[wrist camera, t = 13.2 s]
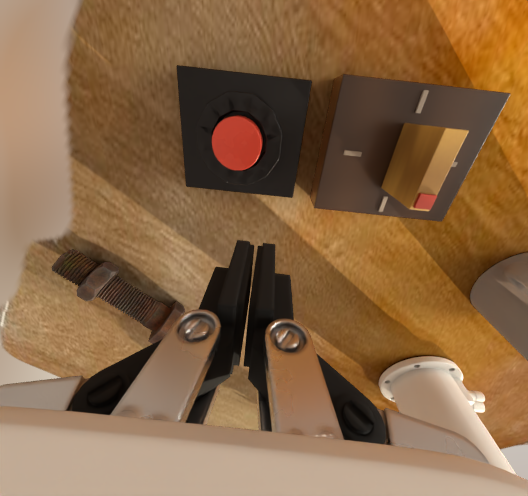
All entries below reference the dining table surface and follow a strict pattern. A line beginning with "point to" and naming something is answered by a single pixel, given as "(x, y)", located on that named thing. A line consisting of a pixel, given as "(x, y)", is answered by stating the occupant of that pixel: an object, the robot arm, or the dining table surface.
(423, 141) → the gold slab
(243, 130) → the red button
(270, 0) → the dining table surface
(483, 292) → the coffee mug
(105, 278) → the bolt
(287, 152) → the button box
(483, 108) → the plate
